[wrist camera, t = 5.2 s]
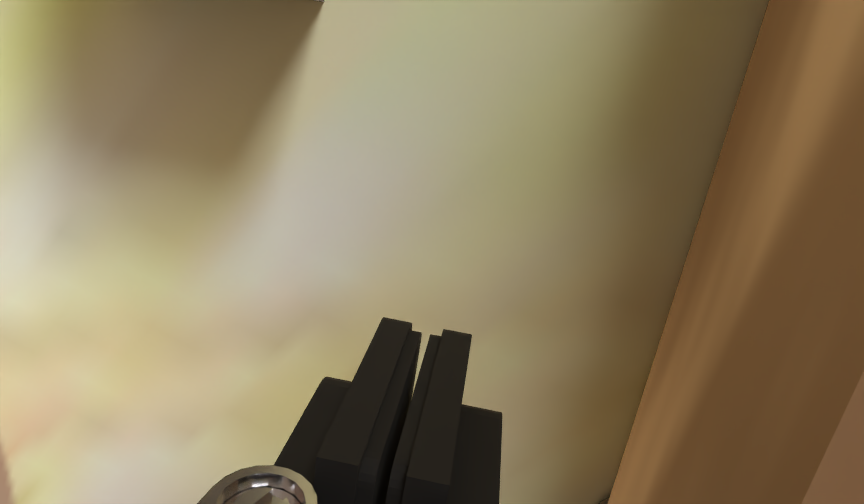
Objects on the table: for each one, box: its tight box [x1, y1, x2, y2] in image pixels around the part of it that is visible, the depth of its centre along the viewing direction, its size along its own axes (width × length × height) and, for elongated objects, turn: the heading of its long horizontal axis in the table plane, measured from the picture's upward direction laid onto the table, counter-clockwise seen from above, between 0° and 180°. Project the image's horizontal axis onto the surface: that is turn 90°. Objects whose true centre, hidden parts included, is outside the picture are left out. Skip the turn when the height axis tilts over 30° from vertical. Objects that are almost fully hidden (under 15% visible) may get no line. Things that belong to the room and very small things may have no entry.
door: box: [599, 0, 864, 504], centre depth 10 cm, size 2×14×6 cm, turn 171°
